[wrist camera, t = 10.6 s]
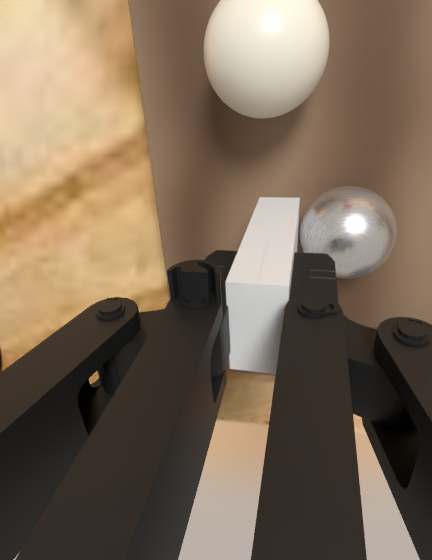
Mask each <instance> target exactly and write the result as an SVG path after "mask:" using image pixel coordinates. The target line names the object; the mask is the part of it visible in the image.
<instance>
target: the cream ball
mask: <svg viewBox="0 0 432 560" xmlns="http://www.w3.org/2000/svg"><path fill="white" fill-rule="evenodd" d="M328 53H329V29H328V24H327V20H326V17H325V14H324V11H323V9H322V7H321V5H320V3H319V1H318V0H220V1H219V3H218V4H217V6H216V7H215V9H214V11H213V13H212V15H211V17H210V19H209V22H208V25H207V28H206V33H205V38H204V63H205V68H206V72H207V76H208V78H209V81H210V83H211V85H212V87H213V89H214V91H215V92H216V94H217V95H218V96H219V97H220V99H221V100H222V101H223V102H224V103H225V104H226V105H227V106H229V107H230V108H231V109H233V110H234V111H236V112H238V113H240V114H242V115H245V116H248V117H252V118H262V119H265V118H273V117H277V116H281V115H283V114H286V113H288V112H290V111H291V110H293V109H295V108H296V107H297V106H299V105H300V104H301V103H303V102H304V101H305V100H306V99H307V98H308V97H309V95H310V94H311V93H312V92H313V91H314V89H315V88H316V86H317V84H318V83H319V81H320V79H321V77H322V75H323V72H324V69H325V67H326V63H327V59H328Z"/></svg>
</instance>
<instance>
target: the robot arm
mask: <svg viewBox="0 0 432 560" xmlns="http://www.w3.org/2000/svg"><path fill="white" fill-rule="evenodd" d="M299 205H300V198H286V197H260V198H259V200H258V203H257V205H256V208H255V210H254V213H253V215H252V218H251V220H250V222H249V225H248V227H247V230H246V232H245V235H244V237H243V240H242V242H241V245H240V247H239V250H238V251H226V250H216V251H214V252H213V253H211V254H210V255H208V256H207V257H206V259H205V260H188V261H183V262H179V263H177V264H175V265H173V266H171V267H170V268H169V269H168V270H167V276H168V284H169V291H170V301H169V303H168V304H167V306H166V308H165V309H162V310H156V311H148V312H140V313H139V311H138V306H137V304H136V303H135V302H134V301H133V300H130V299H128V298H120V297H114V298H107V299H105V300H102V301H99V302H97V303H95V304H93V305H91V306H90V307H88V308H87V309H86V310H84V311H83V312H82V313H80V314H79V315H78V316H76V317H75V318H74V319H72V320H71V321H70V322H68V323H67V324H66V325H64V326H63V327H61V328H60V329H59V330H57V331H56V332H55V333H53V334H52V335H51V336H49V337H48V338H47V339H45V340H44V341H43V342H41V343H40V344H39V345H37V346H36V347H35V348H33V349H32V350H30V351H29V352H28V353H26V354H25V355H24V356H22V357H21V358H20V359H18V360H17V361H16V362H14V363H13V364H12V365H10V366H9V367H8V368H6V369H5V370H3V371H2V372H1V373H0V560H13V559H14V558H15V557H16V556H17V554H18V553H19V552H20V553H19V555H18V556H17V558H16V560H178V557H179V554H180V550H181V546H182V543H183V539H184V535H185V532H186V528H187V524H188V521H189V517H190V513H191V509H192V506H193V502H194V499H195V495H196V491H197V487H198V484H199V481H200V477H201V473H202V470H203V466H204V462H205V458H206V455H207V451H208V448H209V444H210V440H211V436H212V433H213V429H214V426H215V422H216V418H217V415H218V411H219V408H220V404H221V400H222V397H223V393H224V389H225V386H226V365H227V361H228V358H229V361H230V369H236V370H245V371H254V372H263V373H272V374H276V377H275V384H274V392H273V399H272V407H271V414H270V422H269V429H268V437H267V444H266V451H265V459H264V466H263V474H262V482H261V489H260V496H259V504H258V511H257V519H256V526H255V533H254V541H253V549H252V556H251V560H367V559H366V549H365V538H364V528H363V517H362V506H361V495H360V485H359V475H358V464H357V454H356V444H355V432H354V422H353V414H355V415H358V416H360V417H362V422H363V426H364V428H365V431H366V433H367V435H368V438H369V440H370V443H371V445H372V447H373V450H374V452H375V454H376V457H377V459H378V461H379V464H380V466H381V468H382V470H383V473H384V475H385V478H386V480H387V482H388V485H389V487H390V490H391V492H392V494H393V497H394V499H395V501H396V504H397V506H398V509H399V511H400V513H401V515H402V518H403V520H404V523H405V525H406V527H407V530H408V532H409V535H410V537H411V539H412V541H413V544H414V546H415V549H416V551H417V553H418V556H419V558H420V560H432V325H431V324H429V323H427V322H425V321H422V320H419V319H415V318H410V317H394V318H389V319H386V320H384V321H383V322H381V323H380V324H379V326H378V329H374V328H371V327H367V326H364V325H361V324H358V323H356V322H354V321H352V320H350V319H348V318H347V317H346V316H345V315H343V310H342V308H341V306H340V305H339V304H338V292H337V280H336V268H335V261H334V260H333V259H332V258H331V257H330V256H329V255H328V254H323V253H300V252H297V246H298V225H299ZM96 371H98V375H99V379H98V380H97V381H96V382H94V383H93V384H90V383H89V378H90V377H91V376H92V375H93V374H94V373H95V372H96Z"/></svg>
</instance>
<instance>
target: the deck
mask: <svg viewBox="0 0 432 560" xmlns="http://www.w3.org/2000/svg"><path fill="white" fill-rule="evenodd" d="M219 1H220V0H128V2H129V10H130V17H131V24H132V31H133V38H134V46H135V53H136V60H137V67H138V74H139V81H140V89H141V96H142V103H143V110H144V117H145V125H146V132H147V139H148V146H149V153H150V160H151V168H152V175H153V182H154V189H155V196H156V204H157V211H158V218H159V225H160V232H161V239H162V247H163V254H164V261H165V268H166V275H167V270H168V269H169V268H170V267H171V266H173V265H175V264H177V263H179V262H183V261H188V260H205V259H206V257H207V256H208V255H210V254H211V253H213V252H214V251H216V250H226V251H238V250H239V247H240V245H241V242H242V240H243V237H244V235H245V232H246V230H247V227H248V225H249V222H250V220H251V218H252V215H253V213H254V210H255V208H256V205H257V203H258V200H259V198H260V197H286V198H300V205H299V225H298V246H297V252H300V253H304V252H303V249H302V246H301V242H300V226H301V222H302V218H303V216H304V214H305V212H306V210H307V209H308V207H309V206H310V205H311V203H312V202H313V201H314V200H315V199H316V198H318V197H319V196H320V195H322V194H323V193H325V192H327V191H329V190H331V189H334V188H337V187H342V186H358V187H363V188H366V189H369V190H371V191H373V192H375V193H377V194H378V195H379V196H381V197H382V198H383V199H384V200H385V201H386V202H387V204H388V205H389V206H390V208H391V209H392V211H393V214H394V216H395V220H396V224H397V236H396V241H395V245H394V247H393V250H392V252H391V254H390V255H389V257H388V258H387V259H386V261H385V262H384V263H383V264H382V265H381V266H380V267H378V268H377V269H376V270H374V271H372V272H371V273H369V274H367V275H364V276H361V277H357V278H350V279H343V278H336V280H337V292H338V304H339V305H340V306H341V308H342V310H343V315H345V316H346V317H347V318H348V319H350V320H352V321H354V322H356V323H358V324H361V325H364V326H367V327H371V328H374V329H378V326H379V324H380V323H381V322H383V321H384V320H386V319H389V318H394V317H410V318H415V319H419V320H422V321H425V322H427V323H429V324H431V325H432V0H318V1H319V3H320V5H321V7H322V9H323V11H324V14H325V17H326V20H327V24H328V29H329V53H328V59H327V63H326V67H325V69H324V72H323V75H322V77H321V79H320V81H319V83H318V84H317V86H316V88H315V89H314V91H313V92H312V93H311V94H310V95H309V97H308V98H307V99H306V100H305V101H304V102H303V103H301V104H300V105H299V106H297V107H296V108H295V109H293V110H291V111H290V112H288V113H286V114H283V115H281V116H277V117H273V118H265V119H262V118H252V117H248V116H245V115H242V114H240V113H238V112H236V111H234V110H233V109H231V108H230V107H229V106H227V105H226V104H225V103H224V102H223V101H222V100H221V99H220V97H219V96H218V95H217V94H216V92H215V91H214V89H213V87H212V85H211V83H210V81H209V78H208V76H207V72H206V68H205V63H204V38H205V33H206V28H207V25H208V22H209V19H210V17H211V15H212V13H213V11H214V9H215V7H216V6H217V4H218V3H219ZM167 283H168V276H167ZM168 290H169V284H168ZM169 297H170V291H169ZM226 371H234V372H244V373H254V374H264V375H274V376H276V374H272V373H263V372H254V371H245V370H236V369H230V361H229V358H228V361H227V365H226Z"/></svg>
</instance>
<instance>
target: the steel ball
mask: <svg viewBox="0 0 432 560" xmlns="http://www.w3.org/2000/svg"><path fill="white" fill-rule="evenodd" d="M396 236H397V224H396V220H395V216H394V214H393V211H392V209H391V208H390V206H389V205H388V204H387V202H386V201H385V200H384V199H383V198H382V197H381V196H379V195H378V194H377V193H375V192H373V191H371V190H369V189H366V188H363V187H358V186H342V187H337V188H334V189H331V190H329V191H327V192H325V193H323V194H322V195H320V196H319V197H318V198H316V199H315V200H314V201H313V202H312V203H311V205H310V206H309V207H308V209H307V210H306V212H305V214H304V216H303V218H302V222H301V226H300V242H301V246H302V249H303V252H304V253H323V254H328V255H329V256H330V257H331V258H332V259H333V260H334V261H335V268H336V278H343V279H350V278H357V277H361V276H364V275H367V274H369V273H371V272H372V271H374V270H376V269H377V268H378V267H380V266H381V265H382V264H383V263H384V262H385V261H386V259H387V258H388V257H389V255H390V254H391V252H392V250H393V247H394V245H395V241H396Z"/></svg>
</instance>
